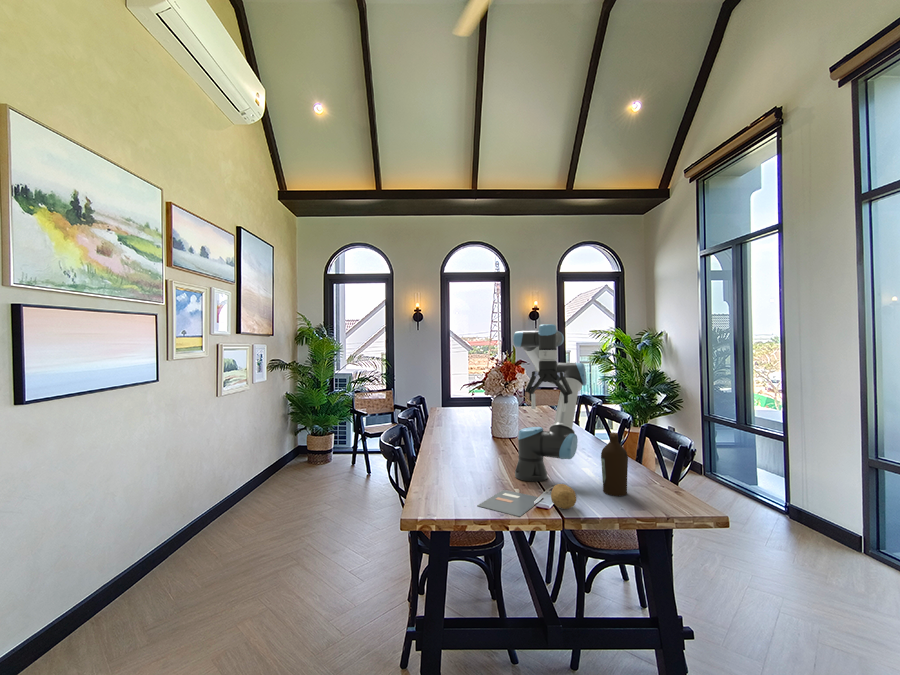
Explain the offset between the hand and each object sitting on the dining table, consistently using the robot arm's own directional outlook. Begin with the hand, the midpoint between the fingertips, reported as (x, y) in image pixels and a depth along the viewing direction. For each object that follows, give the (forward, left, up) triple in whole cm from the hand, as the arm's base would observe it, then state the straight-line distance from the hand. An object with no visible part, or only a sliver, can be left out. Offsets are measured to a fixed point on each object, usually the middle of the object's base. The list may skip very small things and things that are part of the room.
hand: (548, 410), depth 174 cm
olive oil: (-15, +23, -35) cm, 44 cm away
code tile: (+20, -8, -35) cm, 41 cm away
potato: (+13, +11, -35) cm, 39 cm away
